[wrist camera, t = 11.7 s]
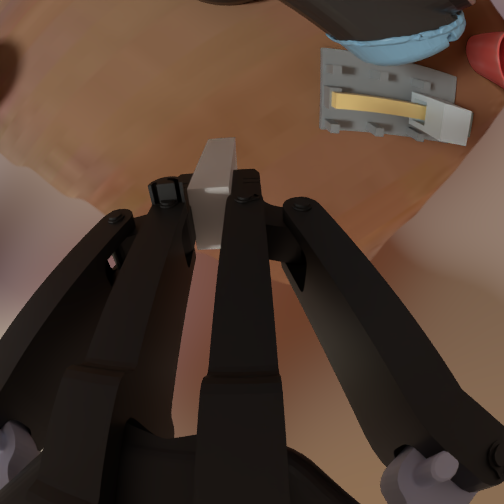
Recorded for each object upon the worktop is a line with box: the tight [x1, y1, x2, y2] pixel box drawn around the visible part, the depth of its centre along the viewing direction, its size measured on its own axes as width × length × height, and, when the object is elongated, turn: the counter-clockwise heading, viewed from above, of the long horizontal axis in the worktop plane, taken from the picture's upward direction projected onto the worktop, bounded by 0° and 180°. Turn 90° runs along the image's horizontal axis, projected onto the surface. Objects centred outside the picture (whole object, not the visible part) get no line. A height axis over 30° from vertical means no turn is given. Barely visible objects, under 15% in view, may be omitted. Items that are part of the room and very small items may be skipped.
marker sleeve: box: [409, 92, 472, 146], centre depth 29 cm, size 5×5×8 cm
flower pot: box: [466, 31, 504, 89], centre depth 22 cm, size 11×11×10 cm
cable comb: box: [319, 48, 474, 143], centre depth 31 cm, size 12×23×7 cm, turn 92°
